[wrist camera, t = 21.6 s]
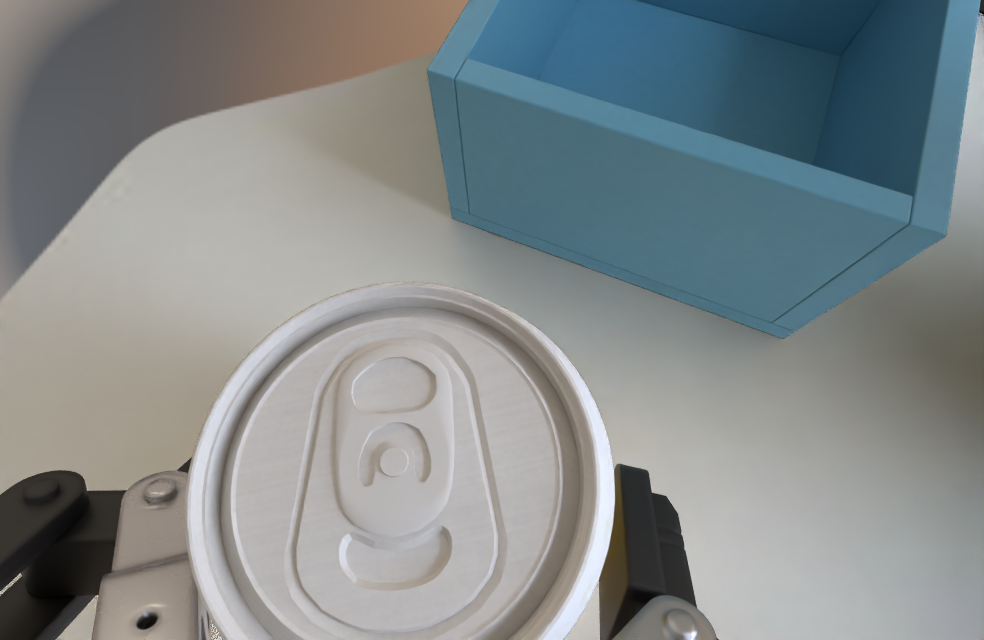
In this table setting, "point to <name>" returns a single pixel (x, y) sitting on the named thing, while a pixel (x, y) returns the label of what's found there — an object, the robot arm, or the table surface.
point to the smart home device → (981, 6)
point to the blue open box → (710, 140)
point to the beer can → (400, 477)
